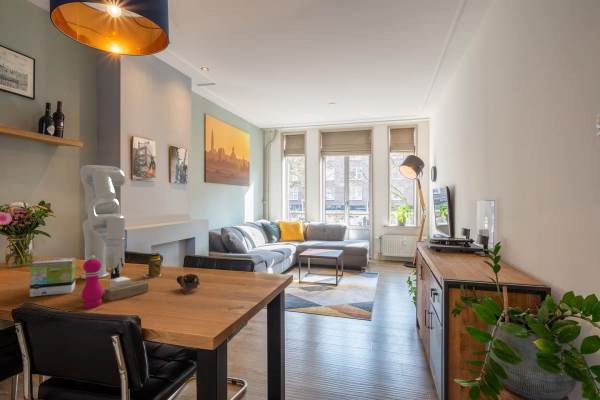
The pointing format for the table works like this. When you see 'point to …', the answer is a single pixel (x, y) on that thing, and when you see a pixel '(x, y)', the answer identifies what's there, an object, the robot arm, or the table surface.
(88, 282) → the pepper mill
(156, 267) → the condiment
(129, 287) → the board
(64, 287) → the tea box
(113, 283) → the block
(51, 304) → the table surface
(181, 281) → the pottery mug
